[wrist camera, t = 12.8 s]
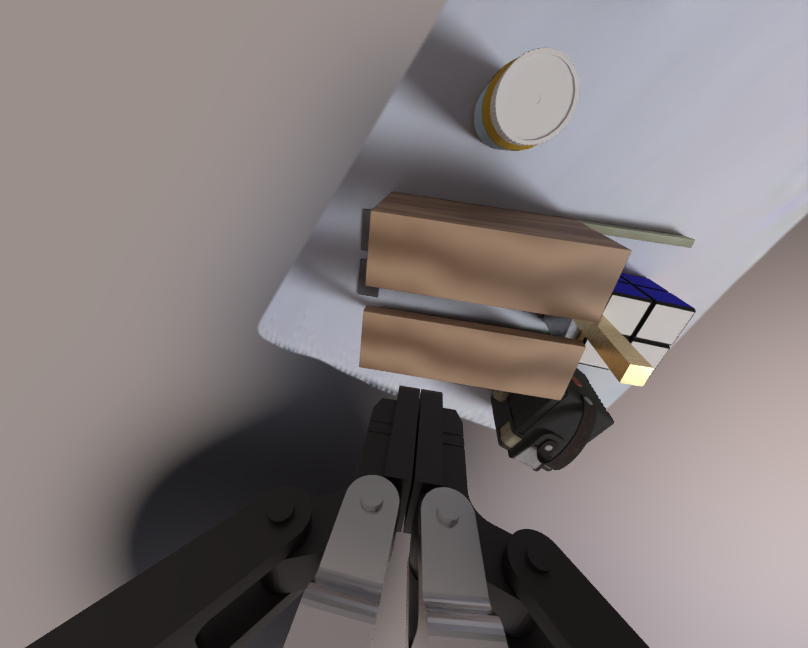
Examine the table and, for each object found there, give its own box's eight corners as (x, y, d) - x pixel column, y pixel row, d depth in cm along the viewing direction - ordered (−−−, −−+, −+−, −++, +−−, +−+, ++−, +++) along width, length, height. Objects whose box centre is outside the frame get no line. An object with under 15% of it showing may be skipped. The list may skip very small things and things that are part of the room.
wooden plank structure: (365, 187, 43) (333, 205, 31) (684, 235, 42) (789, 274, 29) (357, 309, 52) (330, 362, 39) (621, 352, 51) (681, 420, 38)
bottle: (524, 153, 40) (566, 157, 26) (467, 145, 40) (479, 144, 27) (544, 82, 36) (602, 46, 23) (480, 73, 36) (502, 33, 23)
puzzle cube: (649, 278, 45) (699, 310, 36) (614, 339, 50) (650, 380, 41) (578, 263, 45) (610, 291, 36) (549, 325, 50) (572, 363, 41)
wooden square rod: (568, 247, 44) (656, 318, 26) (583, 249, 44) (682, 321, 26) (541, 319, 49) (598, 419, 31) (554, 321, 49) (619, 423, 31)
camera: (480, 396, 58) (491, 470, 45) (535, 340, 51) (567, 406, 38) (529, 423, 60) (554, 502, 46) (588, 372, 53) (635, 446, 40)
